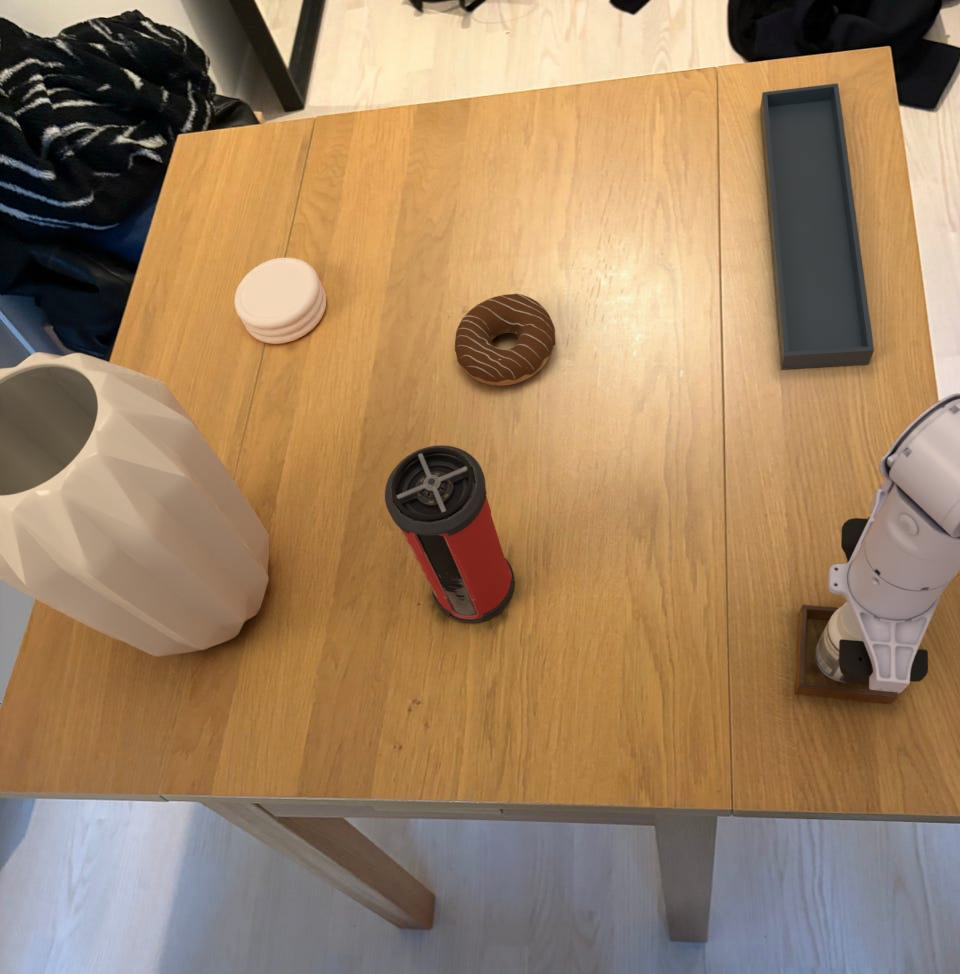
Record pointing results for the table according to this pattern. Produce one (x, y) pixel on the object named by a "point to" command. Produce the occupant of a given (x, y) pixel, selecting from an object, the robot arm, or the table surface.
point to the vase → (122, 508)
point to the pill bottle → (836, 641)
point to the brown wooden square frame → (823, 690)
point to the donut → (497, 319)
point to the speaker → (451, 531)
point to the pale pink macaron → (280, 300)
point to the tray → (813, 231)
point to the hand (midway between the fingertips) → (858, 633)
